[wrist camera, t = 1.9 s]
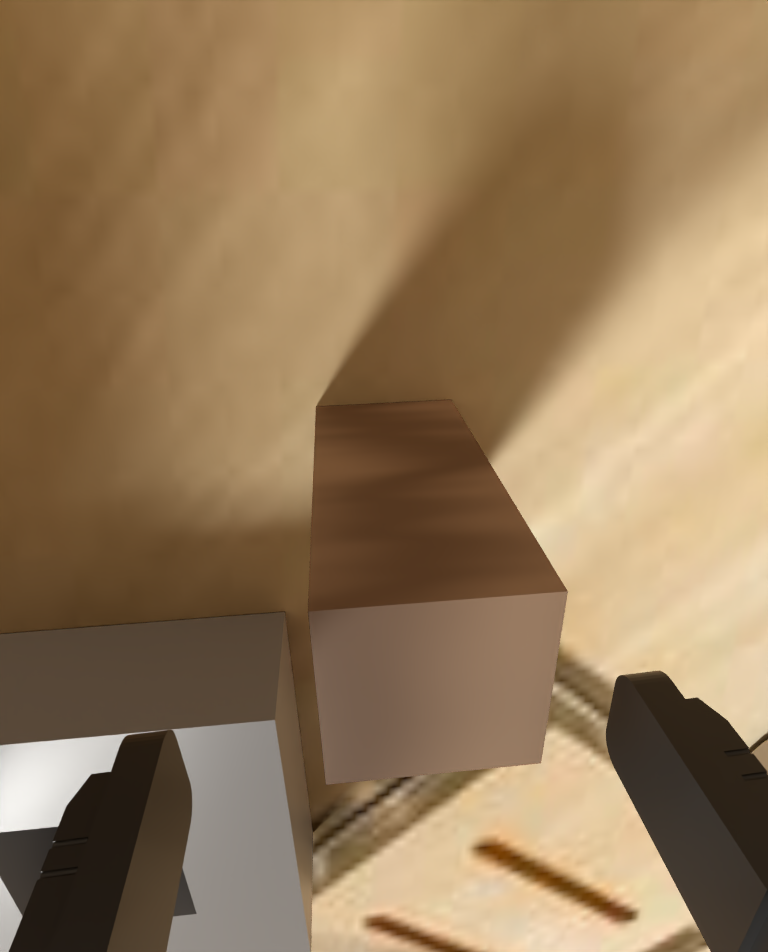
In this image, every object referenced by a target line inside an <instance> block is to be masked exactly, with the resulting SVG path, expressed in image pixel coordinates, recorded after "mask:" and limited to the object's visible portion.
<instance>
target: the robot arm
mask: <svg viewBox="0 0 768 952" xmlns="http://www.w3.org/2000/svg"><path fill="white" fill-rule="evenodd" d="M606 742H607V748H608V752H609V755H610V758H611V761H612V764H613V766H614V768H615V770H616V772H617V774H618V776H619V778H620V779H621V781H622V783H623V785H624V787H625V789H626V791H627V793H628V795H629V797H630V799H631V800H632V802H633V804H634V806H635V808H636V810H637V812H638V814H639V816H640V818H641V819H642V821H643V823H644V825H645V827H646V829H647V831H648V833H649V835H650V837H651V839H652V840H653V842H654V844H655V846H656V848H657V850H658V852H659V854H660V856H661V858H662V859H663V861H664V863H665V865H666V867H667V869H668V871H669V873H670V875H671V877H672V879H673V880H674V882H675V884H676V886H677V888H678V890H679V892H680V894H681V896H682V898H683V899H684V901H685V903H686V905H687V907H688V909H689V911H690V913H691V915H692V917H693V919H694V920H695V922H696V924H697V926H698V928H699V930H700V932H701V934H702V936H703V938H704V939H705V941H706V943H707V945H708V947H709V949H710V951H711V952H768V740H766V741H765V742H763V743H762V744H761V745H760V746H758V747H757V748H756V749H755V750H754V751H753V752H752V753H750V752H749V747H748V746H747V745H746V744H745V742H744V741H743V740H742V739H741V737H740V736H739V735H738V733H737V732H736V731H735V730H734V728H733V727H732V726H731V725H730V723H729V722H728V721H727V720H726V719H725V718H724V717H722V716H721V715H720V714H718V713H717V712H716V711H714V710H713V709H712V708H710V707H709V706H708V705H707V704H705V703H704V702H703V701H701V700H700V699H699V698H691V699H685V698H684V697H683V695H682V694H681V693H680V691H679V690H678V689H677V687H676V686H675V684H674V683H673V682H672V680H671V679H670V678H669V677H668V676H667V675H666V674H665V673H663V672H661V671H652V672H644V673H636V674H628V675H621V676H619V677H618V678H617V680H616V682H615V687H614V692H613V697H612V703H611V708H610V713H609V718H608V723H607V728H606ZM191 818H192V789H191V784H190V780H189V777H188V774H187V771H186V767H185V764H184V761H183V758H182V754H181V751H180V748H179V745H178V741H177V738H176V735H175V733H174V731H173V730H164V731H156V732H148V733H140V734H132V735H127V736H126V737H125V738H124V739H123V740H122V742H121V744H120V747H119V750H118V752H117V755H116V758H115V761H114V764H113V767H112V770H111V772H104V773H96V774H91V775H90V777H89V778H88V779H87V780H86V782H85V783H84V784H83V785H82V787H81V788H80V789H79V791H78V792H77V793H76V794H75V796H74V797H73V798H72V800H71V801H70V802H69V803H68V805H67V806H66V808H65V811H64V813H63V816H62V818H61V821H60V823H59V826H58V829H57V831H56V834H55V836H54V839H53V841H52V842H53V845H52V848H51V849H49V851H48V854H47V856H46V859H45V861H44V864H43V866H42V869H41V871H40V872H41V876H40V879H39V880H37V881H36V884H35V886H34V889H33V892H32V894H31V897H30V899H29V902H28V904H27V907H26V909H25V912H24V914H23V917H22V919H21V922H20V924H19V927H18V929H17V932H16V934H15V937H14V939H13V942H12V944H11V947H10V949H9V952H166V951H167V946H168V941H169V935H170V930H171V925H172V920H173V914H174V909H175V904H176V899H177V893H178V888H179V883H180V877H181V872H182V867H183V862H184V856H185V851H186V846H187V841H188V835H189V830H190V825H191Z"/></svg>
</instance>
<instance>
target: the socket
mask: <svg viewBox="0 0 768 952" xmlns="http://www.w3.org/2000/svg"><path fill="white" fill-rule="evenodd" d="M164 730H173V731H174V733H175V735H176V738H177V741H178V745H179V748H180V751H181V754H182V758H183V761H184V764H185V767H186V771H187V774H188V777H189V780H190V784H191V789H192V818H191V825H190V830H189V835H188V841H187V846H186V851H185V856H184V862H183V867H182V872H181V877H180V883H179V888H178V893H177V899H176V904H175V909H174V914H173V920H172V925H171V930H170V935H169V941H168V946H167V951H166V952H311V923H312V864H313V830H312V822H311V814H310V806H309V798H308V790H307V782H306V774H305V767H304V759H303V751H302V743H301V735H300V727H299V719H298V711H297V703H296V696H295V688H294V680H293V672H292V664H291V656H290V648H289V640H288V632H287V625H286V617H285V612H277V613H264V614H251V615H238V616H225V617H213V618H200V619H187V620H174V621H161V622H149V623H136V624H123V625H110V626H97V627H85V628H72V629H59V630H46V631H33V632H21V633H8V634H0V952H9V949H10V947H11V944H12V942H13V939H14V937H15V934H16V932H17V929H18V927H19V924H20V922H21V919H22V917H23V914H24V912H25V909H26V907H27V904H28V902H29V899H30V897H31V894H32V892H33V889H34V886H35V884H36V881H37V880H39V879H40V876H41V872H40V871H41V869H42V866H43V864H44V861H45V859H46V856H47V854H48V851H49V849H51V848H52V845H53V842H52V841H53V839H54V836H55V834H56V831H57V829H58V826H59V823H60V821H61V818H62V816H63V813H64V811H65V808H66V806H67V805H68V803H69V802H70V801H71V800H72V798H73V797H74V796H75V794H76V793H77V792H78V791H79V789H80V788H81V787H82V785H83V784H84V783H85V782H86V780H87V779H88V778H89V777H90V775H91V774H96V773H104V772H111V770H112V767H113V764H114V761H115V758H116V755H117V752H118V750H119V747H120V744H121V742H122V740H123V739H124V738H125V737H126V736H127V735H132V734H140V733H148V732H156V731H164Z"/></svg>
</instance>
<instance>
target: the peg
mask: <svg viewBox="0 0 768 952" xmlns="http://www.w3.org/2000/svg"><path fill="white" fill-rule="evenodd" d="M567 593H568V591H567V589H566V588H565V586H564V585H563V583H562V581H561V580H560V578H559V576H558V575H557V573H556V571H555V570H554V568H553V566H552V565H551V563H550V561H549V560H548V558H547V557H546V555H545V553H544V552H543V550H542V548H541V547H540V545H539V543H538V542H537V540H536V538H535V537H534V535H533V534H532V532H531V530H530V529H529V527H528V525H527V524H526V522H525V520H524V519H523V517H522V515H521V514H520V512H519V510H518V509H517V507H516V506H515V504H514V502H513V501H512V499H511V497H510V496H509V494H508V492H507V491H506V489H505V487H504V486H503V484H502V483H501V481H500V479H499V478H498V476H497V474H496V473H495V471H494V469H493V468H492V466H491V464H490V463H489V461H488V459H487V458H486V456H485V455H484V453H483V451H482V450H481V448H480V446H479V445H478V443H477V441H476V440H475V438H474V436H473V435H472V433H471V432H470V430H469V428H468V427H467V425H466V423H465V422H464V420H463V418H462V417H461V415H460V413H459V412H458V410H457V409H456V407H455V405H454V404H453V402H452V400H434V401H415V402H395V403H376V404H356V405H337V406H317V407H316V421H315V446H314V472H313V497H312V523H311V548H310V573H309V599H308V616H309V626H310V636H311V646H312V655H313V665H314V675H315V684H316V694H317V704H318V713H319V723H320V733H321V742H322V752H323V762H324V771H325V781H326V785H329V784H338V783H348V782H358V781H368V780H378V779H388V778H398V777H408V776H418V775H428V774H438V773H448V772H458V771H468V770H478V769H488V768H498V767H508V766H518V765H528V764H538V763H541V759H542V753H543V747H544V740H545V734H546V727H547V721H548V714H549V708H550V702H551V695H552V689H553V682H554V676H555V670H556V663H557V657H558V650H559V644H560V637H561V631H562V625H563V618H564V612H565V605H566V599H567Z"/></svg>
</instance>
